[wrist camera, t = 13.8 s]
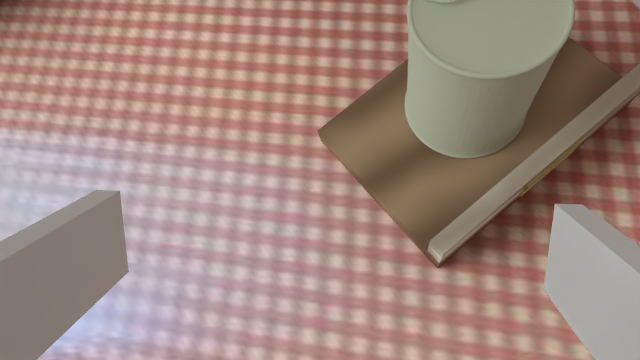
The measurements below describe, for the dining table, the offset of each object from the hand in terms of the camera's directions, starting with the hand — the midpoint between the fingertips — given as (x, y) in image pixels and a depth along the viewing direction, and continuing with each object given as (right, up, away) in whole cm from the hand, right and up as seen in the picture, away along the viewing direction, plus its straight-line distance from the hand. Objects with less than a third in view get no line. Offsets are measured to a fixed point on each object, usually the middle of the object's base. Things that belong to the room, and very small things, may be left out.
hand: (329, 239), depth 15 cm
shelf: (+12, +6, +25) cm, 28 cm away
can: (+11, +8, +24) cm, 27 cm away
